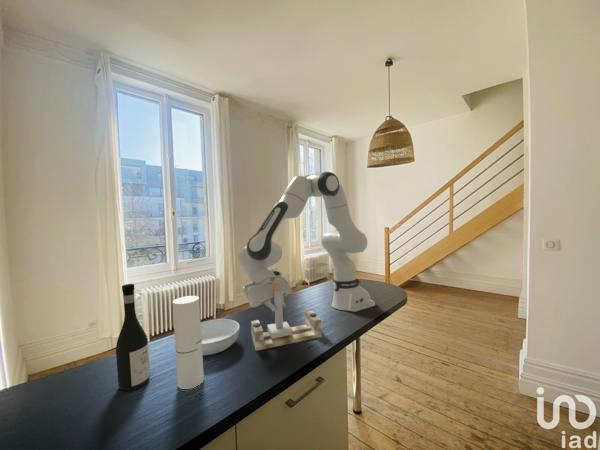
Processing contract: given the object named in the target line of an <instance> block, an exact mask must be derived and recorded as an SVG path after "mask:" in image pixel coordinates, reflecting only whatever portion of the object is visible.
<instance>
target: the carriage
mask: <svg viewBox="0 0 600 450" xmlns="http://www.w3.org/2000/svg"><path fill="white" fill-rule="evenodd" d="M273 290H274V300H273V302H274V303H273V305H276V307H277V308H278V309H277V310H276V311H274V322H275V323H270V324H269V323H268V324H267V329H266V330H267V332H269V334H270V336H271V338H277V337H282V336H287V335H292V328H291V327H292V326H290V325H289V323H288V322H287V321H284V315H283V313H284V312H283V308H282V285H281V284H280V283H275V284H274V285H273Z"/></svg>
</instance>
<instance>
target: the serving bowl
mask: <svg viewBox="0 0 600 450" xmlns="http://www.w3.org/2000/svg"><path fill="white" fill-rule="evenodd" d="M239 334H240V324H239V322H238V321H236V320H233V319H230V318H229V319H227V318H215V319H211V320H209V319H208V320H205V321H201V339H202V355H203V356H210V355H215V354H218V353H221V352H223V351H225V350H227V349H228V348H230V347H231V346H232V345H233V344H234V343H235V342H236V341H237V339H238V337H239Z"/></svg>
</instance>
